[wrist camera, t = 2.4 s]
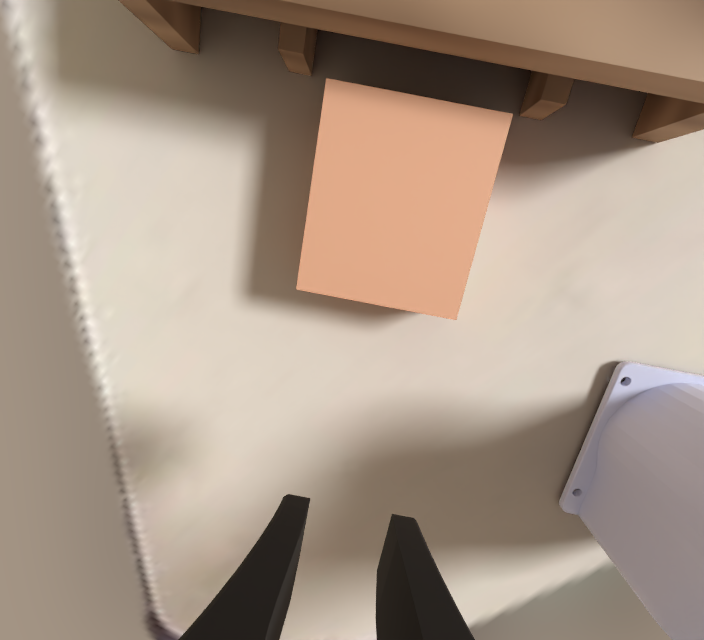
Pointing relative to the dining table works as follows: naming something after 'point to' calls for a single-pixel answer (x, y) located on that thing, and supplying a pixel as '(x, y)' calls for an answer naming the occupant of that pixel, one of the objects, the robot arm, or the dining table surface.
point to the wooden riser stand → (500, 43)
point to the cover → (398, 197)
